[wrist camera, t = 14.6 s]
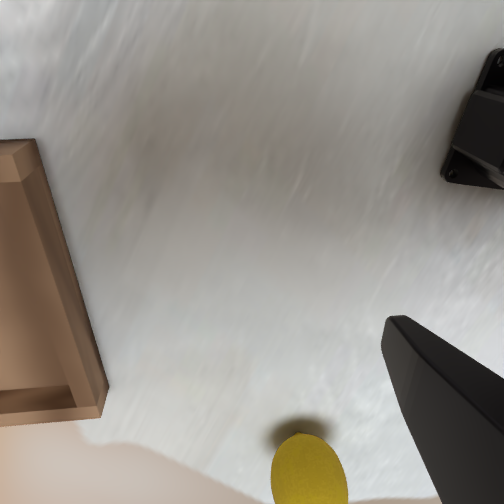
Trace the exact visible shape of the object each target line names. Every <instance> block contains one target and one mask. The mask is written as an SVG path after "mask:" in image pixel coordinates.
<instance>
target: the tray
mask: <svg viewBox="0 0 504 504" xmlns="http://www.w3.org/2000/svg"><path fill="white" fill-rule="evenodd" d="M108 390H109V385H108V381H107V378H106V375H105V371H104V368H103V365H102V361H101V358H100V355H99V351H98V348H97V345H96V341H95V338H94V335H93V331H92V328H91V325H90V321H89V318H88V315H87V311H86V308H85V305H84V301H83V298H82V295H81V291H80V288H79V285H78V281H77V278H76V275H75V271H74V268H73V265H72V261H71V258H70V255H69V251H68V248H67V245H66V241H65V238H64V235H63V231H62V228H61V225H60V221H59V218H58V215H57V211H56V208H55V205H54V201H53V198H52V195H51V191H50V188H49V185H48V181H47V178H46V175H45V171H44V168H43V165H42V161H41V158H40V155H39V151H38V148H37V145H36V141H35V139H13V140H0V427H4V426H16V425H25V424H26V425H27V424H38V423H50V422H61V421H73V420H84V419H95V418H101V415H102V412H103V408H104V404H105V401H106V397H107V393H108Z"/></svg>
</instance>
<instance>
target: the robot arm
mask: <svg viewBox="0 0 504 504" xmlns="http://www.w3.org/2000/svg"><path fill="white" fill-rule="evenodd" d="M501 56H503V60H502V62H501V64H499V65H498V64H497V62H498V59H499V58H500V57H501ZM453 169H455V170H454V173H453V174H452V175H450V176H449V173H450V172H451V171H452V170H453ZM441 177H442V178H443V179H444V180H445V181H447V182H449V183H456V184H464V185H472V186H479V187H487V188H494V189H502V190H504V48H498V49H496V50H494V51H493V52H492V53H491V54H490V56H489V58H488V60H487V62H486V65H485V67H484V69H483V72H482V74H481V77H480V79H479V81H478V84H477V86H476V89H475V91H474V93H473V94H472V95H471V97H470V100H469V102H468V104H467V107H466V109H465V112H464V114H463V117H462V119H461V121H460V124H459V126H458V129H457V131H456V133H455V136H454V138H453V141H452V146H451V148H450V151H449V153H448V156H447V158H446V160H445V163H444V165H443V168H442V170H441ZM381 350H382V354H383V357H384V360H385V363H386V366H387V369H388V372H389V375H390V379H391V382H392V385H393V388H394V391H395V394H396V397H397V400H398V403H399V406H400V409H401V412H402V414H403V417H404V419H405V422H406V424H407V426H408V428H409V431H410V433H411V435H412V437H413V439H414V442H415V444H416V446H417V448H418V451H419V453H420V455H421V457H422V459H423V462H424V464H425V466H426V468H427V471H428V473H429V475H430V477H431V480H432V482H433V484H434V486H435V488H436V491H437V493H438V495H439V497H440V499H441V502H442V504H504V379H503V378H502V377H500V376H499V375H497V374H496V373H494V372H493V371H491V370H490V369H488V368H487V367H485V366H483V365H482V364H480V363H479V362H477V361H476V360H474V359H473V358H471V357H470V356H468V355H466V354H465V353H463V352H462V351H460V350H459V349H457V348H456V347H454V346H453V345H451V344H449V343H448V342H446V341H445V340H443V339H442V338H440V337H439V336H437V335H436V334H434V333H433V332H431V331H429V330H428V329H426V328H425V327H423V326H422V325H420V324H419V323H417V322H416V321H414V320H412V319H411V318H409V317H408V316H405V315H398V316H389V317H388V318H387V319H386V322H385V326H384V331H383V336H382V341H381Z"/></svg>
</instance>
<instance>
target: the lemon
mask: <svg viewBox="0 0 504 504" xmlns="http://www.w3.org/2000/svg"><path fill="white" fill-rule="evenodd" d="M271 489H272V494H273V498H274V501H275V504H348V488H347V481H346V477H345V473H344V470H343V467H342V465H341V463H340V460H339V458H338V456H337V455H336V453H335V451H334V450H333V449H332V448H331V447H330V446H329V445H328V444H327V443H326V442H325V441H324V440H322V439H320V438H318V437H316V436H314V435H310V434H303V433H301V432H297V433H295V434H294V436H292V437H290V438H288V439H287V440H286V441H284V442H283V443H282V444H281V445H280V447H279V448H278V450H277V451H276V453H275V455H274V458H273V461H272V467H271Z"/></svg>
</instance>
